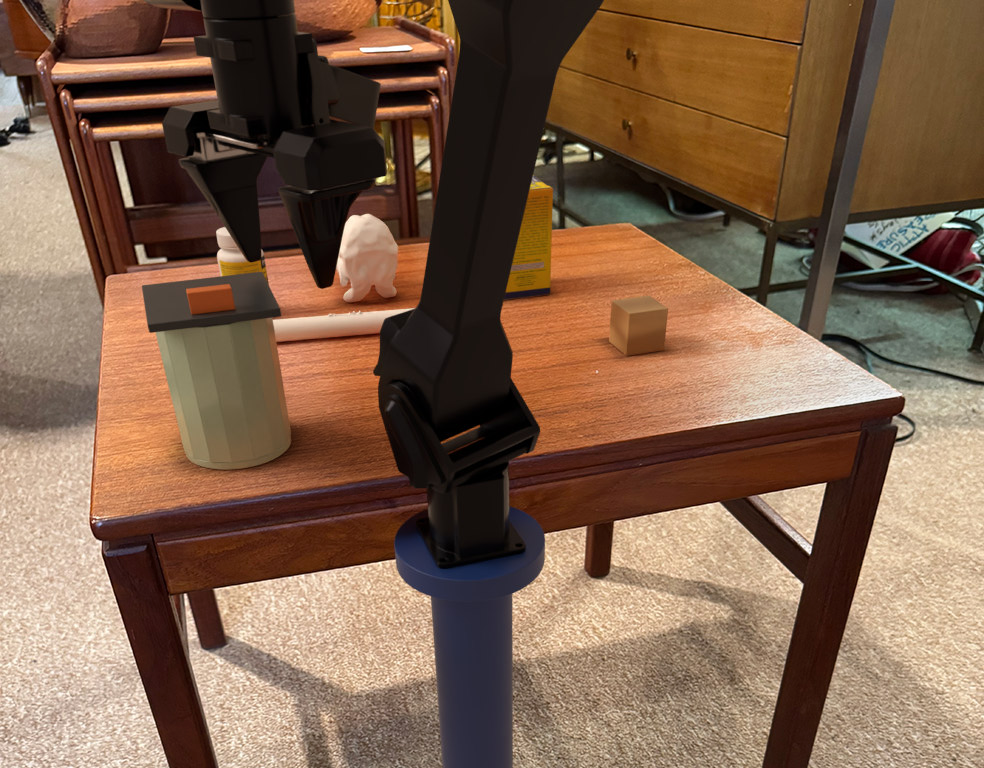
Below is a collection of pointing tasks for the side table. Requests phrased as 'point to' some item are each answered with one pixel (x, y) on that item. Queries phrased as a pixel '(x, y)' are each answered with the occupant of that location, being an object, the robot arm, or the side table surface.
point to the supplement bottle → (235, 257)
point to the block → (638, 325)
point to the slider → (208, 302)
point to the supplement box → (533, 246)
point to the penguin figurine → (367, 258)
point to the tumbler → (227, 393)
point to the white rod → (332, 325)
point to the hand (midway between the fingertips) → (288, 273)
